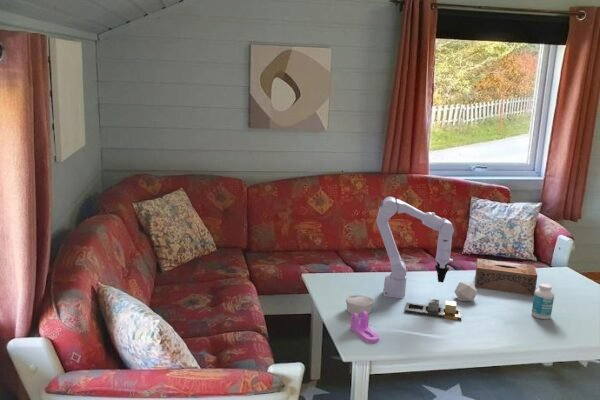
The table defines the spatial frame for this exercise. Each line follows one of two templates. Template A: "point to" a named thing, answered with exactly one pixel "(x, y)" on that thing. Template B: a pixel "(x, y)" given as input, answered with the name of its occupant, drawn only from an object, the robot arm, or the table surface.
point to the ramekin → (359, 304)
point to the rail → (423, 310)
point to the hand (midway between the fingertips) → (440, 278)
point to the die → (466, 291)
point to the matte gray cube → (433, 305)
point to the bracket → (363, 327)
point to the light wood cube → (450, 308)
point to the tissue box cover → (506, 277)
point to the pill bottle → (543, 301)
